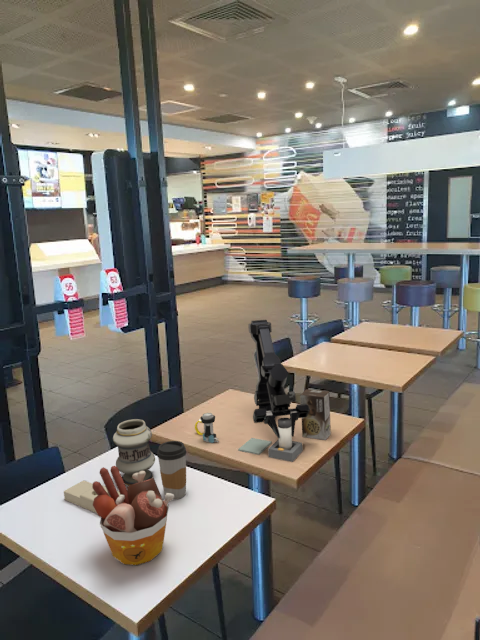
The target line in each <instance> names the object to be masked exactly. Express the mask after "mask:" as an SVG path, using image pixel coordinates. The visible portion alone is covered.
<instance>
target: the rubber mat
mask: <svg viewBox="0 0 480 640" xmlns="http://www.w3.org/2000/svg"><path fill="white" fill-rule="evenodd" d="M272 444H273V442H272V441H271V440H268V439H267V440H266V439H261V438H260V439H259V438H254V437H251V438H250V439H248V441H246V442H245V443H244V444H242V445H241V446H240V447H238V448H237V451H238V452H242V453H247V454H248V453H249V454H254V455H259V456H260V455H261V454H262V453H263V452H264V451H265V450H266V449H267V448H269V447H270V445H272Z"/></svg>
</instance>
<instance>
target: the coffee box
mask: <svg viewBox="0 0 480 640" xmlns="http://www.w3.org/2000/svg"><path fill="white" fill-rule="evenodd" d="M299 398H300V404H307V405H308V406H309V409H310V411H309V414H308V416H307V417H304V418H301V437H302V438H308V439H309V438H310V439H315V440H316V439H317V440H324V441H326V440H327V439H328V438H329V437H330V436H331V434H332V431H331V430H332V429H331V428H332V427H331V398H330V391H329V390H328V391H327V390H321V389H320V390H317V389H309V388H308V389H305V390H304V391H303V392H302V393H301V394H300V397H299Z"/></svg>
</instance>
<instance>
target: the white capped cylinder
mask: <svg viewBox="0 0 480 640" xmlns="http://www.w3.org/2000/svg"><path fill="white" fill-rule="evenodd" d="M277 428H278V431H279V435H280V438H278V439H279V448H283V449H284V450H289V451H290V450H291V449H292V441H293V438H292V430H291V419H290V417H280V418H278V419H277Z"/></svg>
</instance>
